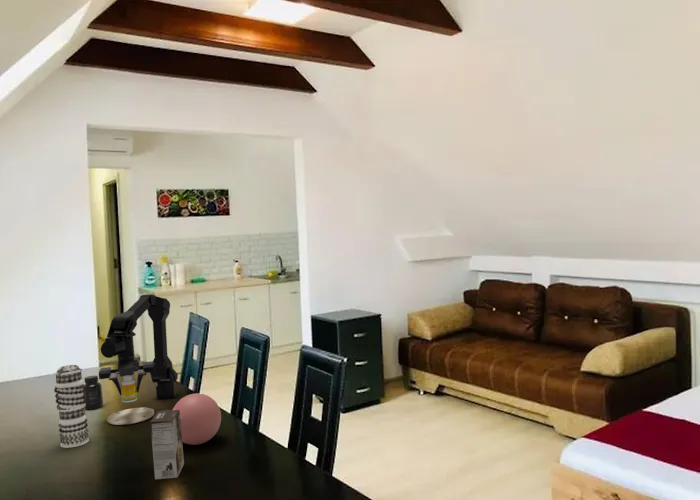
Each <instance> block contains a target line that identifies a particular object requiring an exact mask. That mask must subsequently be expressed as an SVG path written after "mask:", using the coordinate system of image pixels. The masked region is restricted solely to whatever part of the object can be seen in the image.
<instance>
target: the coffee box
mask: <svg viewBox="0 0 700 500" xmlns="http://www.w3.org/2000/svg"><path fill="white" fill-rule="evenodd" d="M150 435H151V445H152V448H151V449H152V457H153V459H152V460H153V469H154V471H153V472H154V480H162V479H164V480H165V479H173V478H174V479H175V478H178V477H179V475H180V473H181V471H182V468H183V467H184V465H185V459H184V450H183V448H184V447H183V442H182V433H181V422H180V411H179V410H173V409H172V410H171V409H165V410H158V411H156V413H154V415H153V416H152V419H151V420H150Z"/></svg>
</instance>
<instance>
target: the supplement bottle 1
mask: <svg viewBox="0 0 700 500" xmlns="http://www.w3.org/2000/svg"><path fill="white" fill-rule="evenodd" d="M84 383H85V384H84V385H85V387H84V388H82V389H85V390H86V391H85V392H84V393H83V395H85V396H86V397H85V398H84V399H83V400H86V403H85V404H86V406H85V407H84V408H85V410H86V411H89V410H90V411H91V410H92V411H93V410H97V409H101V408H102V407H104V398H103V387H102V384H101V383H100V382H99V375H89V376H85V377H84Z"/></svg>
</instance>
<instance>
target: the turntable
mask: <svg viewBox="0 0 700 500" xmlns="http://www.w3.org/2000/svg"><path fill="white" fill-rule="evenodd" d="M154 416H155V410H154V409H153V408H151V407H150V408H149V407H134V408H132V407H131V408H128V409H123V410H119V411H117V412H116V411H115V412H113V413H111V414H110V415H108V416H107V418H106V422H107V423H108V424H110V425H115V426H118V425H119V426H122V425H133V424H136V423H140V422H144V421H146V420H149V419H151V418H153V417H154Z"/></svg>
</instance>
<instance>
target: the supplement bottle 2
mask: <svg viewBox="0 0 700 500" xmlns="http://www.w3.org/2000/svg"><path fill="white" fill-rule="evenodd" d="M121 379H122V380H121V381H120V386H121V395H120V396H121V402H122V403H126V404H127V403H132V402H133V403H134V402H136V401H137V400H138V393H137V380H136V378H135V373H134V374H133V375H126V376H123V377H121Z"/></svg>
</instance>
